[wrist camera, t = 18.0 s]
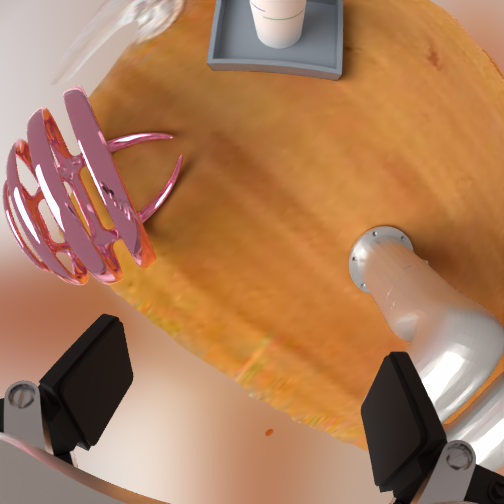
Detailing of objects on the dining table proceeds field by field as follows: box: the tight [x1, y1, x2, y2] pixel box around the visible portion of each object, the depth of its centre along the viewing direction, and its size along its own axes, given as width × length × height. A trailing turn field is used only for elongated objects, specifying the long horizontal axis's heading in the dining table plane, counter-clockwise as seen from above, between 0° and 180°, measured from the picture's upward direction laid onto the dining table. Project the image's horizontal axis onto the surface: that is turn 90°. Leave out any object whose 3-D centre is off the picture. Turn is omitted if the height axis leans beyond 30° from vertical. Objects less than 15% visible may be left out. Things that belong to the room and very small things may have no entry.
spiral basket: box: [3, 86, 183, 285], centre depth 34 cm, size 28×28×27 cm
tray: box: [207, 0, 343, 81], centre depth 33 cm, size 20×16×4 cm
